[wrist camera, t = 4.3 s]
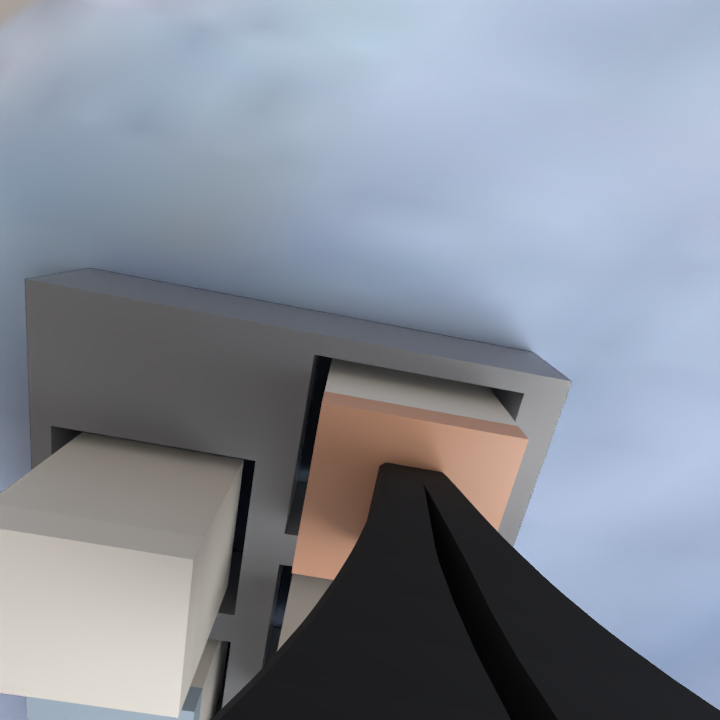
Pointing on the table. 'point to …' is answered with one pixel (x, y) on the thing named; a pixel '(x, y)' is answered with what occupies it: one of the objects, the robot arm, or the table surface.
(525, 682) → the robot arm
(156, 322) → the keypad board
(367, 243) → the table surface
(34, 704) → the blue key
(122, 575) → the cream key
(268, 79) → the table surface
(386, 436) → the terracotta key
